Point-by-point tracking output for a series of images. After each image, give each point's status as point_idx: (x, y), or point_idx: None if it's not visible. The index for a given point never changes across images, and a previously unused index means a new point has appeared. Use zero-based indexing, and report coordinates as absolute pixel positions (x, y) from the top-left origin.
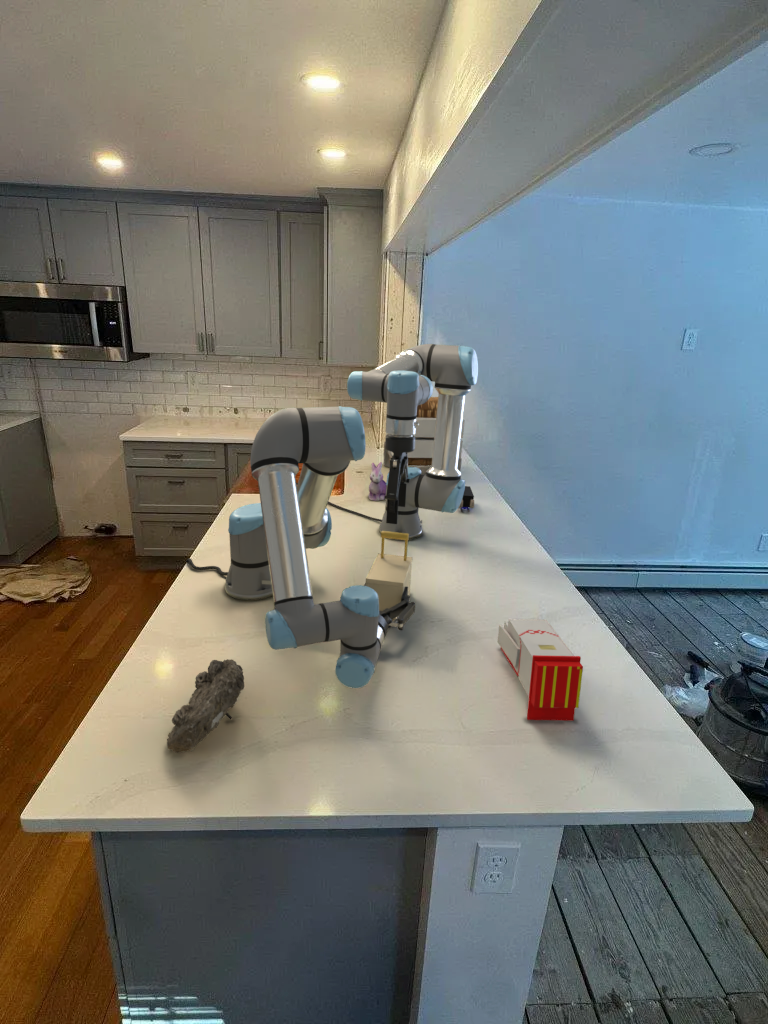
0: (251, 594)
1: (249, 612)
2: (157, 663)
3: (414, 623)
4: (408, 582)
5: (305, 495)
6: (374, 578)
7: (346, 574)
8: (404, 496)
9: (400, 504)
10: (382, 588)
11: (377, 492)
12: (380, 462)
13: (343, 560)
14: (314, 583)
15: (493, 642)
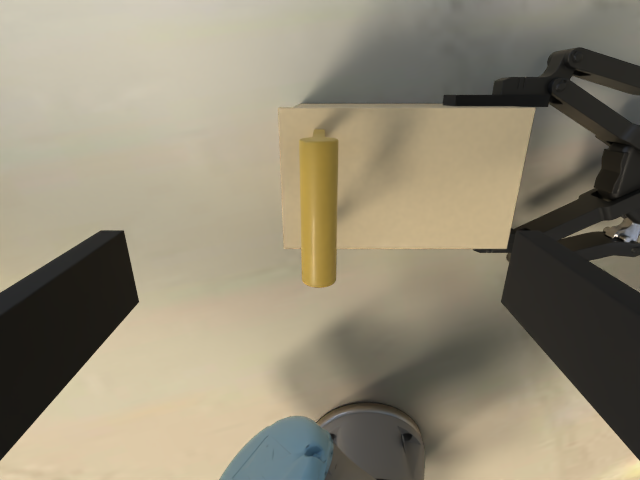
0: (423, 444)
1: (464, 420)
2: (634, 475)
3: (472, 61)
4: (358, 105)
5: None
6: (505, 221)
7: (237, 296)
8: (66, 282)
9: (123, 273)
10: None
11: None
12: None
13: (158, 321)
14: (310, 350)
15: None
